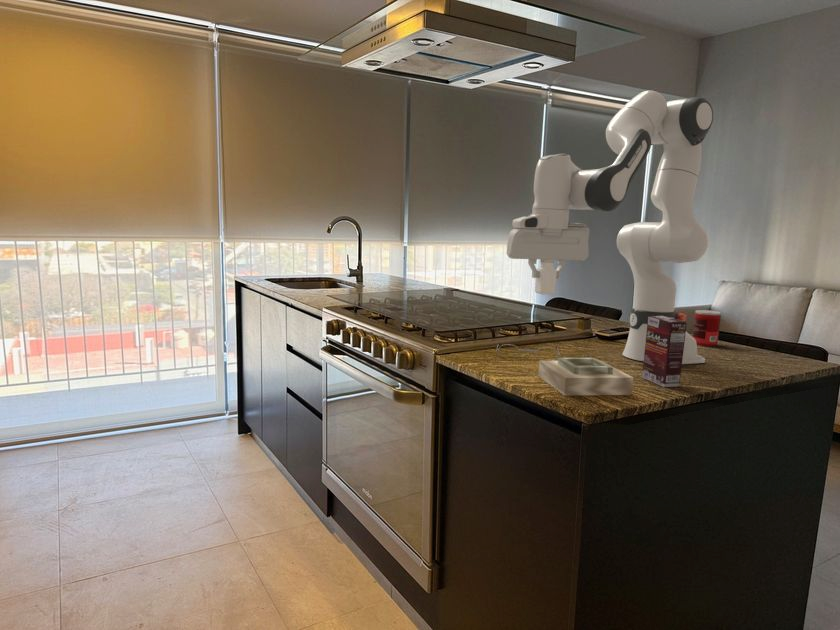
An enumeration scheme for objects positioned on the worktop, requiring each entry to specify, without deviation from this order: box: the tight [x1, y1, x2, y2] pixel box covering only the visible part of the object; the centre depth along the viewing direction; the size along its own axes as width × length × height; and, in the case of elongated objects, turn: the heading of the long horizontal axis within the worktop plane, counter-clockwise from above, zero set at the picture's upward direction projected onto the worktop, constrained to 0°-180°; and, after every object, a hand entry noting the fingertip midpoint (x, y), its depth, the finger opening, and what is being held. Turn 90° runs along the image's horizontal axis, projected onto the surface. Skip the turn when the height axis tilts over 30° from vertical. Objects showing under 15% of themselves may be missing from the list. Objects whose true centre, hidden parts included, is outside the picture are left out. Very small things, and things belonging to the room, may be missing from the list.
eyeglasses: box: [495, 343, 561, 361], centre depth 171 cm, size 18×19×4 cm
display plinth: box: [538, 357, 634, 397], centre depth 136 cm, size 16×16×6 cm
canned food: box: [692, 309, 722, 347], centre depth 193 cm, size 8×8×11 cm
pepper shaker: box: [534, 259, 557, 296], centre depth 144 cm, size 4×4×10 cm
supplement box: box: [641, 316, 687, 388], centre depth 141 cm, size 9×5×16 cm, turn 16°
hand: (545, 278), depth 144 cm, fingers closed on pepper shaker, 4 cm apart
